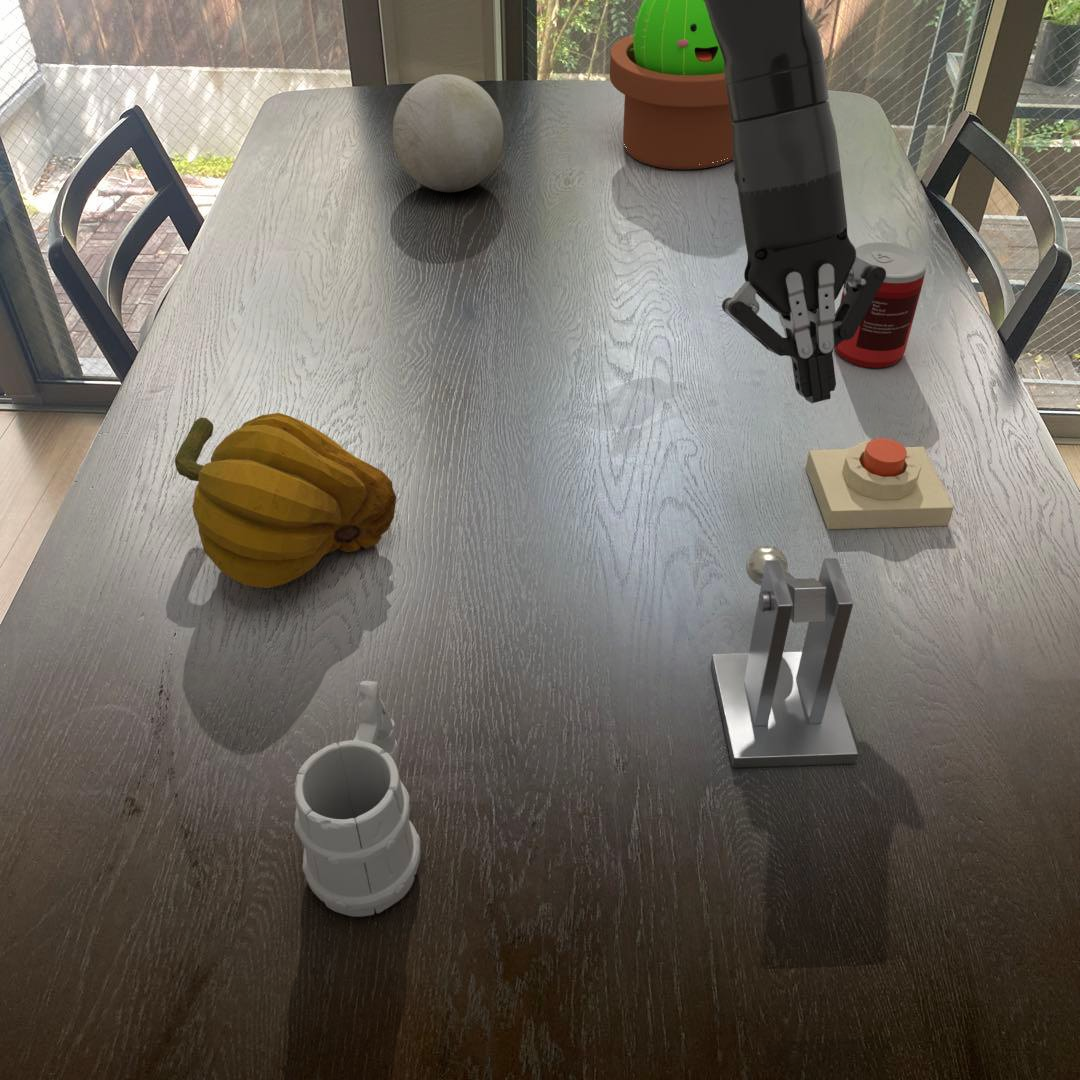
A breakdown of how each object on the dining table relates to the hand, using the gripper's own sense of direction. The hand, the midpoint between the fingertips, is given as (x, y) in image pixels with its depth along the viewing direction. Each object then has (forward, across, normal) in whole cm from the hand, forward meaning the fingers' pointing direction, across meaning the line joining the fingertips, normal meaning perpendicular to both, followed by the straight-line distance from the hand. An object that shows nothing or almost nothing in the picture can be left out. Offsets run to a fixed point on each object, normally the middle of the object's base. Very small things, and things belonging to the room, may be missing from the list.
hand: (817, 399), depth 86 cm
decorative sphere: (-19, -21, +78) cm, 84 cm away
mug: (+18, -41, -18) cm, 48 cm away
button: (+10, +8, +9) cm, 16 cm away
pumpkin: (+5, -46, +11) cm, 47 cm away
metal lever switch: (+20, -10, -12) cm, 25 cm away
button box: (+14, +8, +10) cm, 19 cm away
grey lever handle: (+11, -8, -11) cm, 18 cm away
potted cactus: (-17, +14, +86) cm, 89 cm away
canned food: (+6, +17, +33) cm, 38 cm away
